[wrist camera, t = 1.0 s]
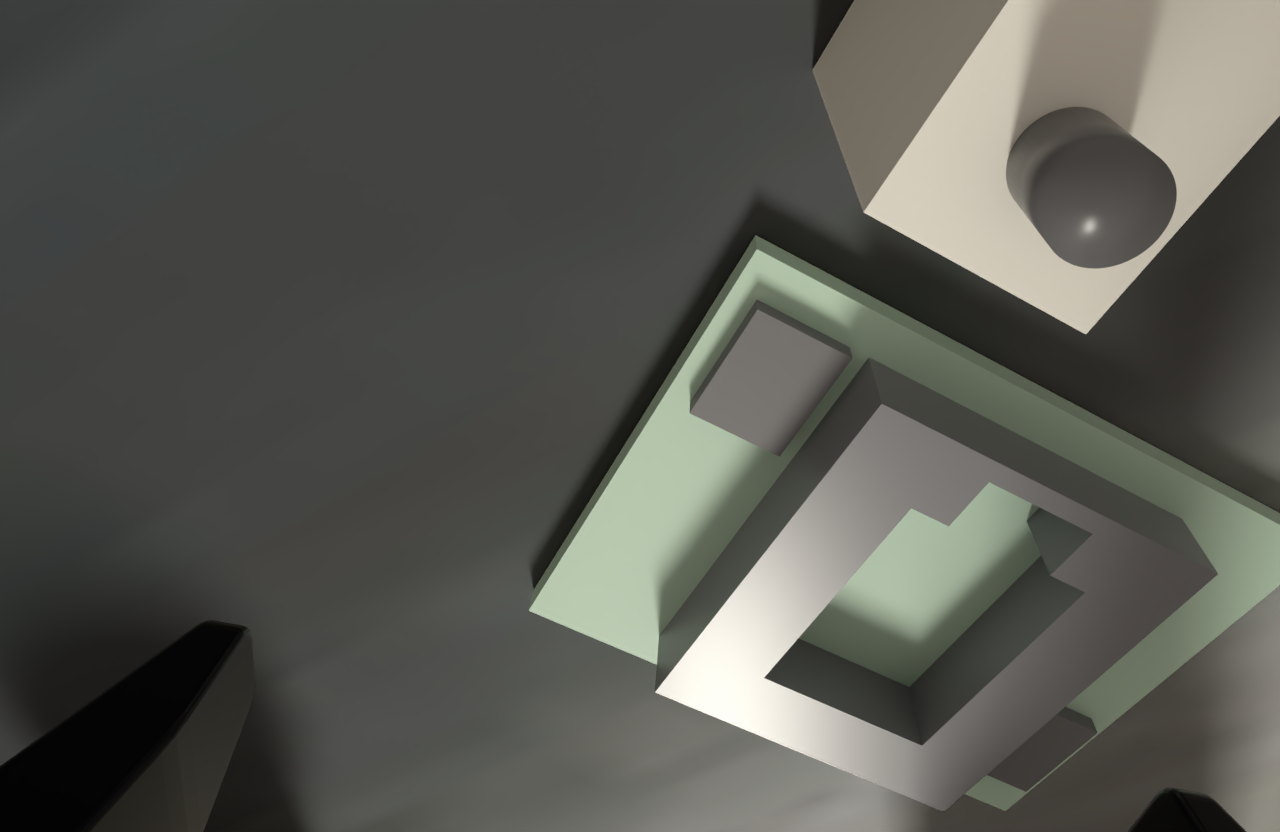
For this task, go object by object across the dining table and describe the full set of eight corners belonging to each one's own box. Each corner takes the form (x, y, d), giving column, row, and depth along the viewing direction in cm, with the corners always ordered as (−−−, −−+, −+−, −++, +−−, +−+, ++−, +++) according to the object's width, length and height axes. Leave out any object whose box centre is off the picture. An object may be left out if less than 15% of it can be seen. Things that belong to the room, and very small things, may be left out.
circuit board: (1307, 527, 24) (1335, 561, 23) (998, 789, 30) (1009, 826, 29) (755, 235, 21) (757, 258, 20) (533, 590, 27) (525, 623, 26)
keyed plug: (1166, -131, 17) (1574, -75, 9) (960, 156, 20) (1127, 394, 12) (999, -244, 16) (1278, -293, 8) (812, 70, 19) (881, 261, 11)
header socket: (1181, 518, 23) (1218, 574, 22) (930, 752, 28) (943, 812, 27) (869, 356, 22) (881, 403, 20) (658, 636, 27) (654, 692, 25)
